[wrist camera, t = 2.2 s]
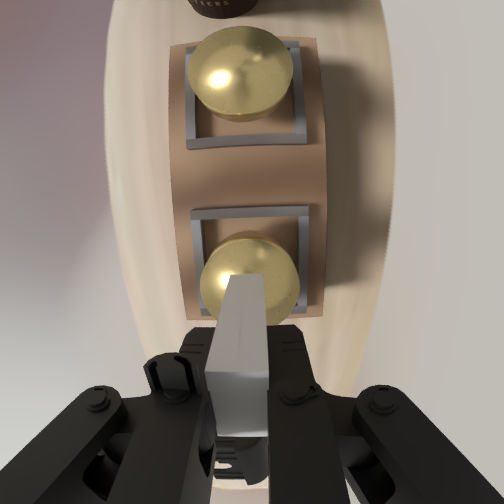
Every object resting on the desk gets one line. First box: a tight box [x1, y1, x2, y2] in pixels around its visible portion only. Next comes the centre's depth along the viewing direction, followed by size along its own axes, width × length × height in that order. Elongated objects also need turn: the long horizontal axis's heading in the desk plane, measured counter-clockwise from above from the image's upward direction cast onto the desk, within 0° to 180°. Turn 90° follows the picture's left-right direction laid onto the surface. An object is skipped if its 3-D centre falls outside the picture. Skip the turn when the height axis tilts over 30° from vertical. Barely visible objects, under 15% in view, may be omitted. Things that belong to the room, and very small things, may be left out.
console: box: [169, 37, 327, 320], centre depth 19 cm, size 20×10×6 cm, turn 2°
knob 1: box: [188, 26, 293, 122], centre depth 12 cm, size 5×5×2 cm
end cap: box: [213, 430, 268, 485], centre depth 27 cm, size 10×7×7 cm
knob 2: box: [200, 230, 300, 326], centre depth 15 cm, size 5×5×2 cm
